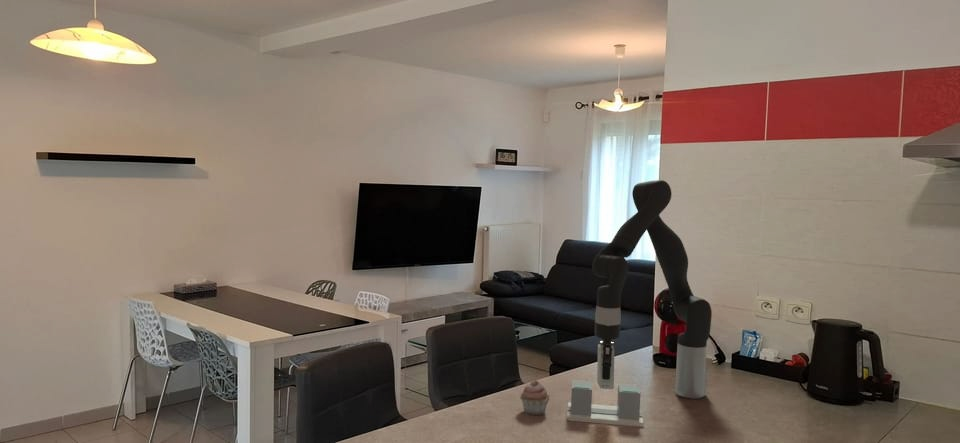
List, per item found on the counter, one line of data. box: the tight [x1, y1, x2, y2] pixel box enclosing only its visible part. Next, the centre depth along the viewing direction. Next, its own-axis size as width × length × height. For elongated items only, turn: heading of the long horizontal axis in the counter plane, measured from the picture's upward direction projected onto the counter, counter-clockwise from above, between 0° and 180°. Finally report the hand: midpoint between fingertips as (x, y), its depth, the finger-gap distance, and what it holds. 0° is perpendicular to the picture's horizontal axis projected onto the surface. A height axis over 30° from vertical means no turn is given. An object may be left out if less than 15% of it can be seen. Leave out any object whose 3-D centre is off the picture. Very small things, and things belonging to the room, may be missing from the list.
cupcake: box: [519, 379, 551, 416], centre depth 191 cm, size 9×9×10 cm
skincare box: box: [596, 343, 615, 390], centre depth 189 cm, size 6×4×12 cm
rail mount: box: [566, 379, 644, 428], centre depth 189 cm, size 22×12×9 cm, turn 81°
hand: (605, 375), depth 189 cm, fingers closed on skincare box, 6 cm apart
